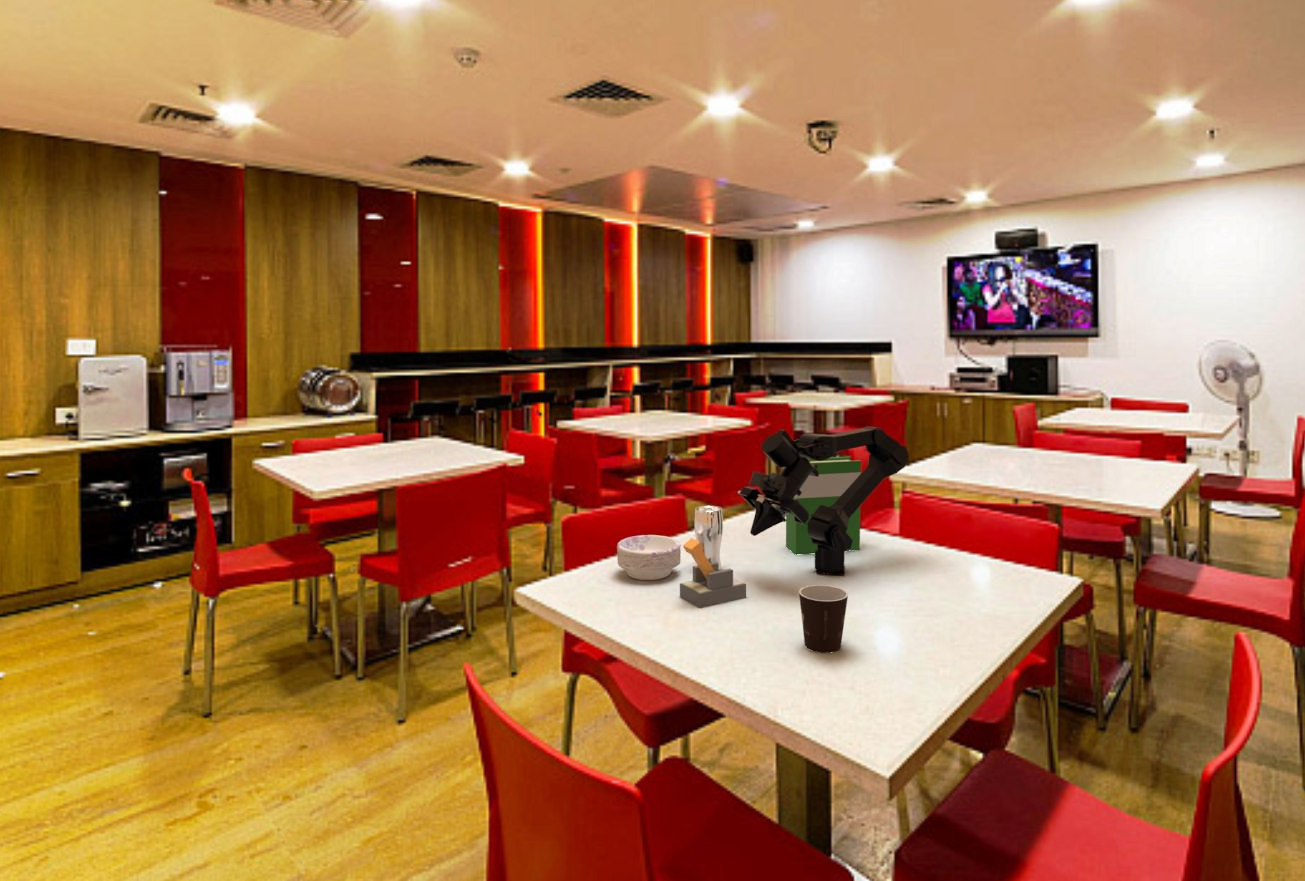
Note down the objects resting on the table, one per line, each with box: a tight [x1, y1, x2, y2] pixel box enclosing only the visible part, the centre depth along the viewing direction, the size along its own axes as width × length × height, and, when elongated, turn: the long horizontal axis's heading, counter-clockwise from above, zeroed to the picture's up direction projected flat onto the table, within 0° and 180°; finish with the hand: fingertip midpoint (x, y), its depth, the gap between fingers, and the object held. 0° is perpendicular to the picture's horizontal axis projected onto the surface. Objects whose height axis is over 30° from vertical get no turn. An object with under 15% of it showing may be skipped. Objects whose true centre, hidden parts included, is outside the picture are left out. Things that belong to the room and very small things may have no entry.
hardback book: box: [785, 456, 862, 556], centre depth 192 cm, size 18×7×24 cm, turn 99°
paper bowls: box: [616, 534, 682, 581], centre depth 175 cm, size 15×15×8 cm
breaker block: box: [679, 562, 747, 609], centre depth 158 cm, size 12×8×6 cm, turn 119°
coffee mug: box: [798, 584, 849, 654], centre depth 130 cm, size 12×9×10 cm
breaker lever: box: [682, 537, 715, 580], centre depth 156 cm, size 3×4×11 cm
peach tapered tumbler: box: [694, 505, 724, 571], centre depth 178 cm, size 7×7×15 cm
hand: (752, 534), depth 162 cm, fingers closed
